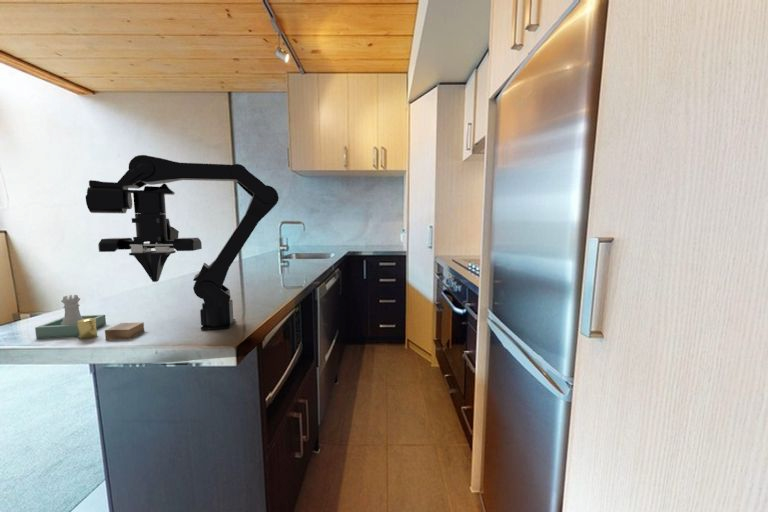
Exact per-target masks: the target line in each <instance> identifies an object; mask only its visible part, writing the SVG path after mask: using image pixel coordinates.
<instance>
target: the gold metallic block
mask: <svg viewBox="0 0 768 512" xmlns="http://www.w3.org/2000/svg"><path fill="white" fill-rule="evenodd" d="M77 323H78V333H79V336H78V340H80V339H85V340H90V338H91V339H94V338H97V337H98V330H97V329H98V328H97V329H96V319H95V318H88V319H82V320H79V321H77Z"/></svg>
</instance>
